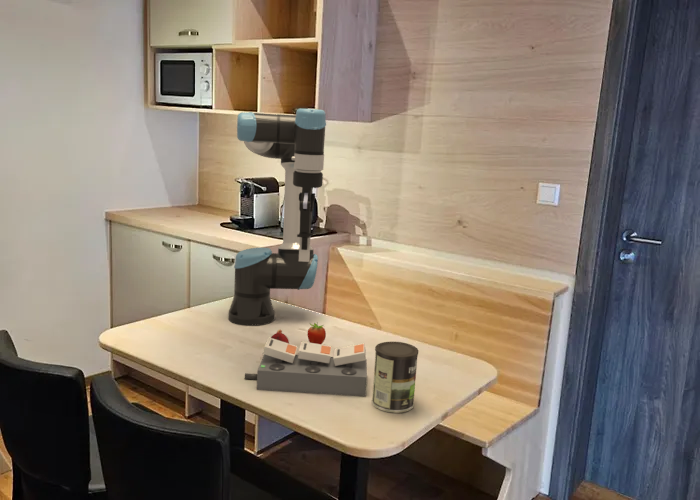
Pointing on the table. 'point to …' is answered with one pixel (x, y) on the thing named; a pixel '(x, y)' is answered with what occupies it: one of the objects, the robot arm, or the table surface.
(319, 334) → the fruit
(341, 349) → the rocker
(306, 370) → the power strip
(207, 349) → the table surface
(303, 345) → the rocker
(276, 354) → the panel
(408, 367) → the coffee can
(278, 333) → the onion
